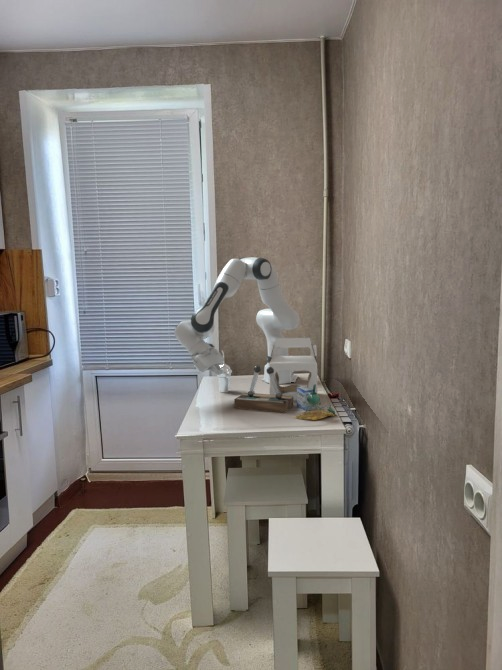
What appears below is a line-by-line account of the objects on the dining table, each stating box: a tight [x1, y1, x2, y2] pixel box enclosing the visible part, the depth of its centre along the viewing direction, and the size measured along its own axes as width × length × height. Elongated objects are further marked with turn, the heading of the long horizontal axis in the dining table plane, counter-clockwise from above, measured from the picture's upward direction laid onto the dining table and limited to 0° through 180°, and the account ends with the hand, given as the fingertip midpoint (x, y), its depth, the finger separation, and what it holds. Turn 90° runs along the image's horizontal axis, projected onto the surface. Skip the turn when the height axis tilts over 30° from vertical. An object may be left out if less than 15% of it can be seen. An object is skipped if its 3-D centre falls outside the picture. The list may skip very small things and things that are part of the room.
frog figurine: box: [294, 384, 338, 421], centre depth 193 cm, size 10×18×15 cm, turn 88°
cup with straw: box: [216, 349, 233, 393], centre depth 238 cm, size 8×9×20 cm
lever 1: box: [247, 365, 262, 397], centre depth 211 cm, size 3×3×14 cm
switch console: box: [234, 392, 294, 414], centre depth 210 cm, size 12×24×4 cm, turn 68°
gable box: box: [268, 337, 318, 401], centre depth 224 cm, size 22×13×28 cm, turn 85°
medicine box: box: [296, 385, 315, 412], centre depth 207 cm, size 8×4×9 cm, turn 22°
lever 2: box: [267, 367, 283, 399], centre depth 207 cm, size 3×3×14 cm
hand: (220, 373), depth 216 cm, fingers closed
